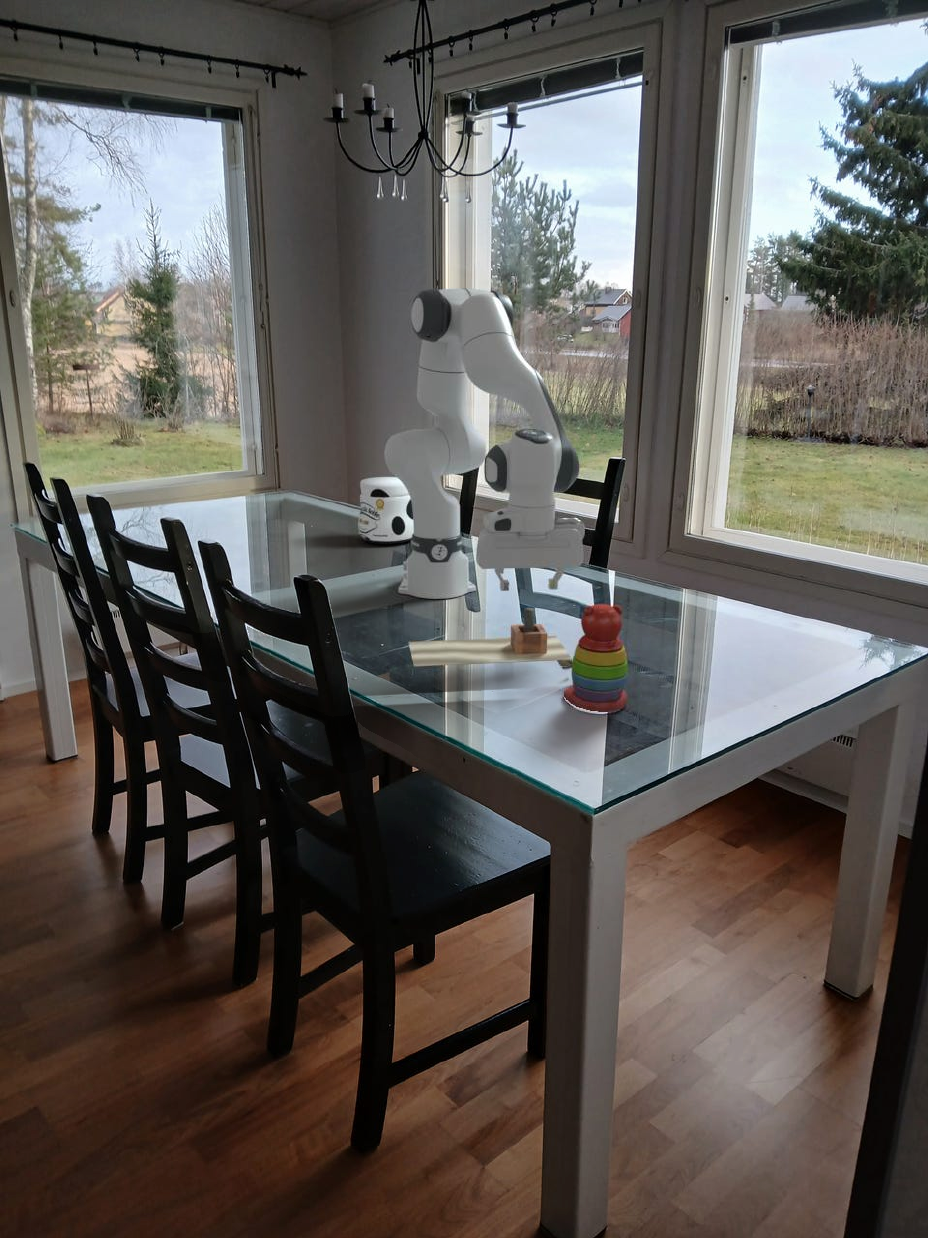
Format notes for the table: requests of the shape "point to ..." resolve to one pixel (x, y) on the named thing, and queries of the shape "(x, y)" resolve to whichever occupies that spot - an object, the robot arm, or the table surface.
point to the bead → (528, 640)
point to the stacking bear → (599, 662)
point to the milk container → (385, 511)
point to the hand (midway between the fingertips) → (528, 589)
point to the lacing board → (485, 650)
